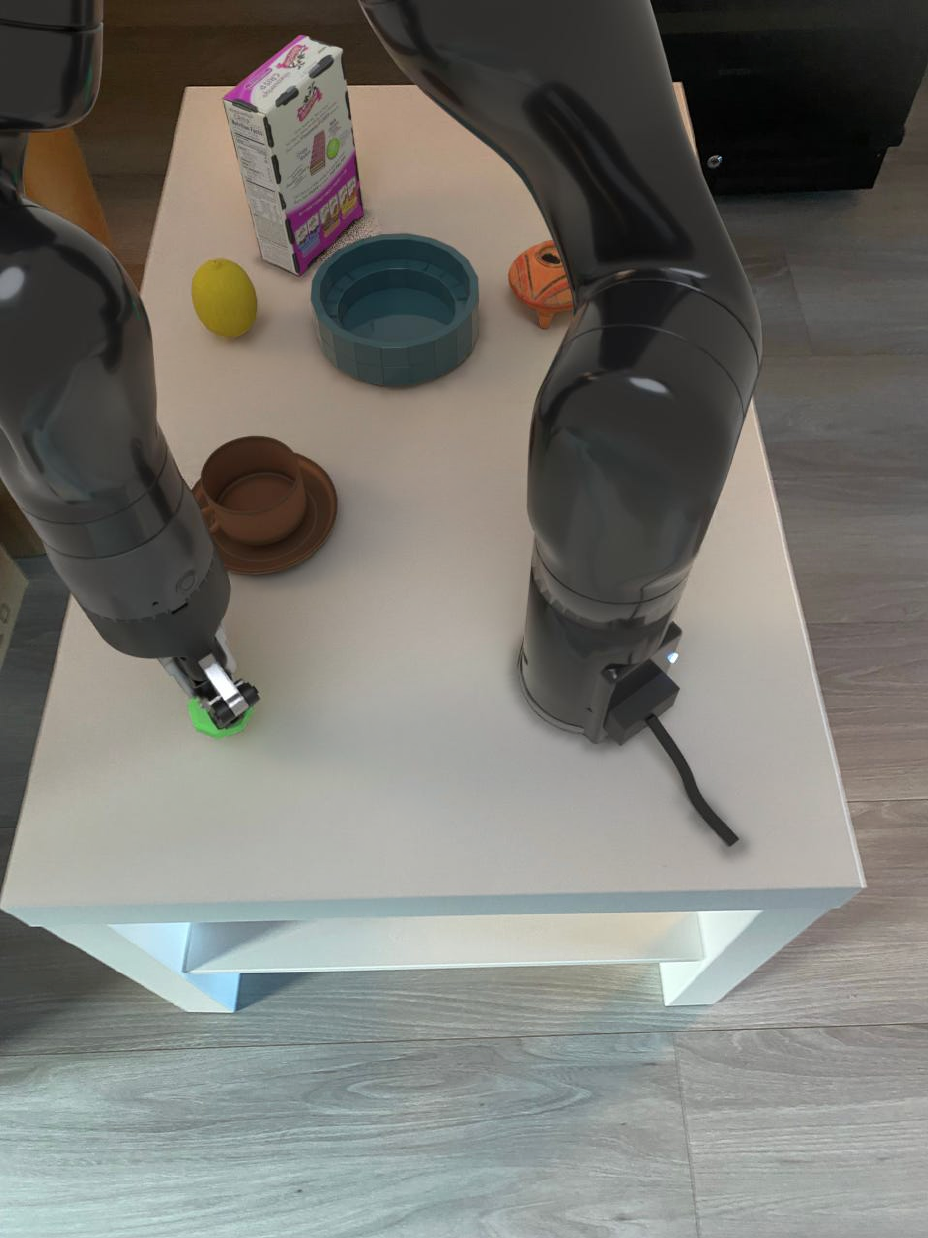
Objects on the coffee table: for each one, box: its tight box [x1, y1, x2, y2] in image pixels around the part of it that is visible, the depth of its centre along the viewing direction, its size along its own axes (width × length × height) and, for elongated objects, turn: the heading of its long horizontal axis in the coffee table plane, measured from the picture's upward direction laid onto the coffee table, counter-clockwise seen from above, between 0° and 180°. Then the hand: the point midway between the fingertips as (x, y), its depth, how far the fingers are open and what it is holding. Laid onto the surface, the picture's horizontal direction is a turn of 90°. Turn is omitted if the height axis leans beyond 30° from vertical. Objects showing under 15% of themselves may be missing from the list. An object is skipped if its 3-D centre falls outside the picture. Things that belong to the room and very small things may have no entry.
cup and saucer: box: [191, 435, 339, 575], centre depth 73 cm, size 12×12×6 cm
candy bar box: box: [221, 34, 365, 277], centre depth 87 cm, size 11×5×16 cm, turn 148°
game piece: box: [187, 698, 255, 740], centre depth 61 cm, size 4×4×6 cm
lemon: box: [190, 257, 259, 338], centre depth 83 cm, size 6×6×8 cm
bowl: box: [310, 232, 480, 387], centre depth 85 cm, size 15×15×5 cm
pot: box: [507, 239, 573, 330], centre depth 86 cm, size 8×8×7 cm
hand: (219, 703), depth 63 cm, fingers closed on game piece, 2 cm apart
